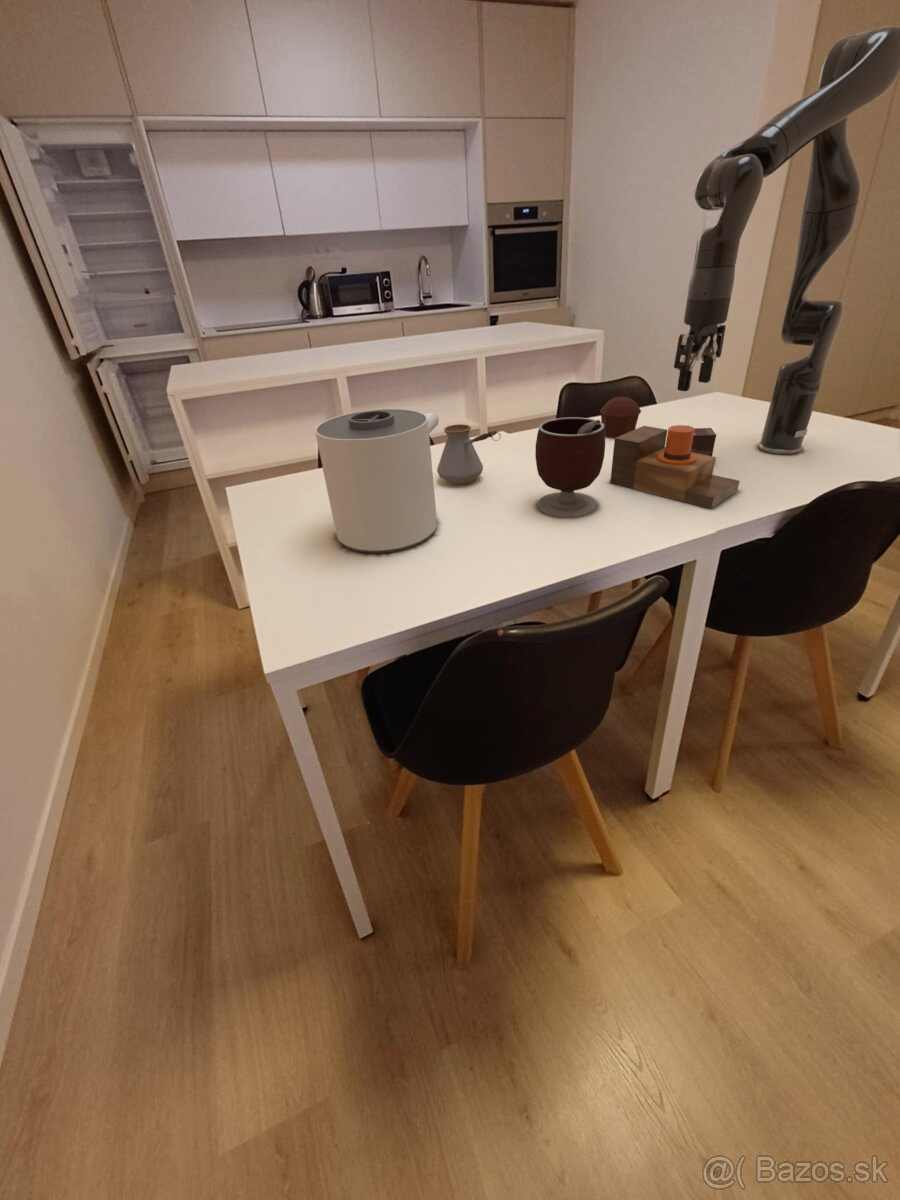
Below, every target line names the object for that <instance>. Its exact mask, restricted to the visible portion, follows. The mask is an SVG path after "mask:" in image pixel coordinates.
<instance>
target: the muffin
mask: <svg viewBox="0 0 900 1200" xmlns="http://www.w3.org/2000/svg"><path fill="white" fill-rule="evenodd" d="M599 411H600V419H601V420H600V422H602V423H603V424H604V432H605V438H612V439H615V438H616V437H619V436H621V435H623V434H626V433H628V432H630V431H633V430H635V429H636V427H637V424H638V419H639V416H640V415H641V413H642V410H641V408H640V406H639V405H638V403H637V402H636V401H635V400H634V399H632V398H631V397H628V396H617V397H613V398H611V399H609V400H608V401H607V402H606V403H605V404H604V405H603V406H602V408H601V409H600V410H599Z"/></svg>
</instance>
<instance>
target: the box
mask: <svg viewBox="0 0 900 1200" xmlns="http://www.w3.org/2000/svg"><path fill="white" fill-rule="evenodd" d="M693 428H694V429H695V431H694V436H693V442H692V447H691V452H693V453H698V454H703V455H708V456H713V453H714V448H715V444H716V440H717V439H716V438H717V433H716V432H715V431H714V430H713V428H712V427H698V428H697V427H696V428H695V427H693Z"/></svg>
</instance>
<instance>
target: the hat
mask: <svg viewBox="0 0 900 1200" xmlns="http://www.w3.org/2000/svg"><path fill="white" fill-rule="evenodd" d="M694 428H695V427H693V426H690V425H684V424H683V425H681V424H677V425H671V426H669V427H668V429H667V436H666V442H665V451H664V452H661V453H659V454H658V455H657V460H658V461H660V462H662V463H665V464H670V465H688V464H692V463H694V462H695V461H696V458H697V457H696V455H694V454H692V453H691V447H692V442H693V436H694V431H695V429H694Z"/></svg>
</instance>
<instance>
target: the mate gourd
mask: <svg viewBox="0 0 900 1200" xmlns="http://www.w3.org/2000/svg"><path fill="white" fill-rule="evenodd" d="M605 452H606V436H605V432H604V424H603V423H602V422H601V420H600V419H594V418H588V417H578V416H575V417H574V416H573V417H572V416H570V417H569V416H568V417H558V418H553V419H548V420H546V421H542V422H541V423H540V424H539V425H538V429H537V435H536V440H535V451H534V453H535V455H534V456H535V462H536V463H535V464H536V465H535V466H536V470H537V474H538V476H539V478H540V479H541V480H542V482H543V483H544V484H545V486H546V487H548V488H551V489H554V490H558V491H559V492H552V493H549V494H546V495H544V496H542V497H541V498H540V499H539V500H538V502H537V506H538V507H537V508H538V509H539V511H541V512H542V513H543V514H545V515H548V516H552V517H555V518H556V517H557V518H579V517H583V516H587V515H589V514H591V513H592V512H594V511H595V510H596V506H597V502H596V500H595V499H594V498H593V497H591V496H590V495H587V494H585V493H580V492H575V491H578V490H583V489H585V488H588V487H590V486H591V485H592V484H593V482H594V481H596V479H597V478H598V477H599V475H600V473H601V472H602V468H603V464H604V460H605Z"/></svg>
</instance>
